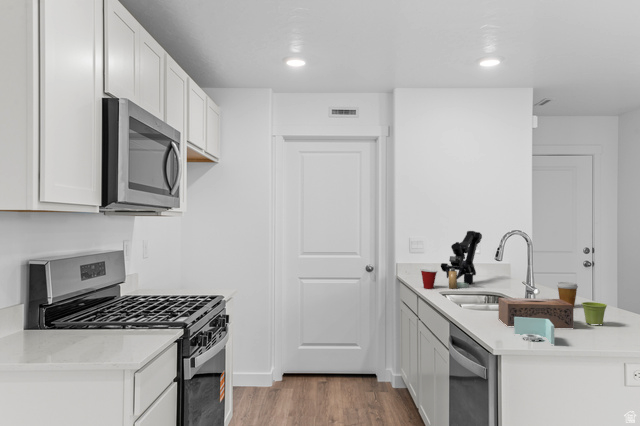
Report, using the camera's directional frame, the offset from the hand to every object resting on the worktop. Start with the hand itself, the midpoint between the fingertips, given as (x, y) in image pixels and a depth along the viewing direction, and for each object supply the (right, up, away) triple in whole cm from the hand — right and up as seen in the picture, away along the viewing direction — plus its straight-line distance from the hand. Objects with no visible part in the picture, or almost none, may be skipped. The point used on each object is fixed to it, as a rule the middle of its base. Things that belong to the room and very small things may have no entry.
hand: (452, 278), depth 300 cm
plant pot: (+32, -6, -100) cm, 105 cm away
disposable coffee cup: (+42, -6, -61) cm, 74 cm away
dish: (+7, -7, +9) cm, 13 cm away
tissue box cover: (+7, -6, -100) cm, 100 cm away
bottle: (+1, -7, +1) cm, 7 cm away
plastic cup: (-15, -7, 0) cm, 16 cm away
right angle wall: (-5, -6, -126) cm, 126 cm away
